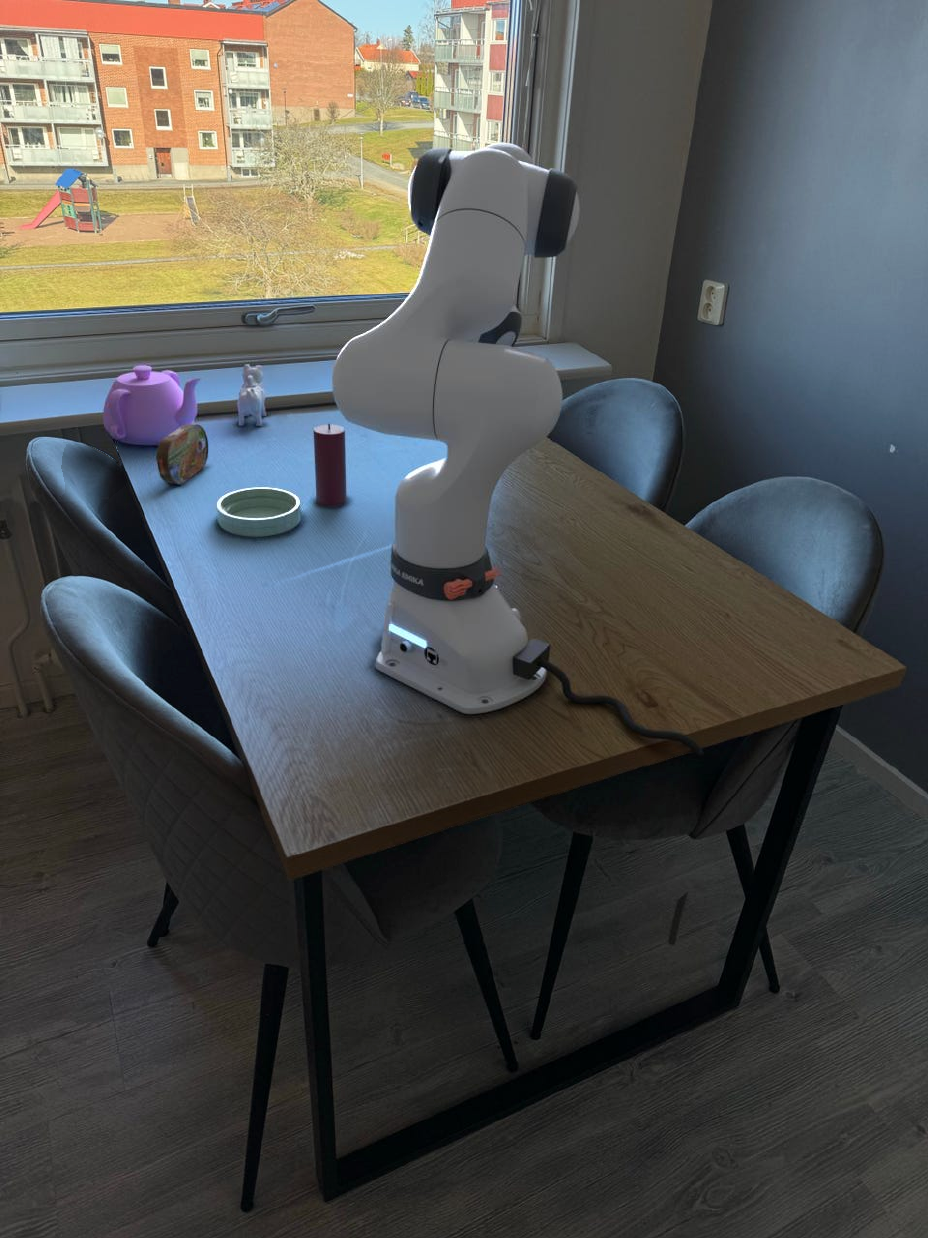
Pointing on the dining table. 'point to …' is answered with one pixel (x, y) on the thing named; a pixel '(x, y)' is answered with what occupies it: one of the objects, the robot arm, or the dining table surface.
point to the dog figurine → (251, 395)
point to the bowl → (258, 511)
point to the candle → (330, 464)
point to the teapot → (148, 406)
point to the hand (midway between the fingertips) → (368, 368)
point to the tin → (182, 454)
